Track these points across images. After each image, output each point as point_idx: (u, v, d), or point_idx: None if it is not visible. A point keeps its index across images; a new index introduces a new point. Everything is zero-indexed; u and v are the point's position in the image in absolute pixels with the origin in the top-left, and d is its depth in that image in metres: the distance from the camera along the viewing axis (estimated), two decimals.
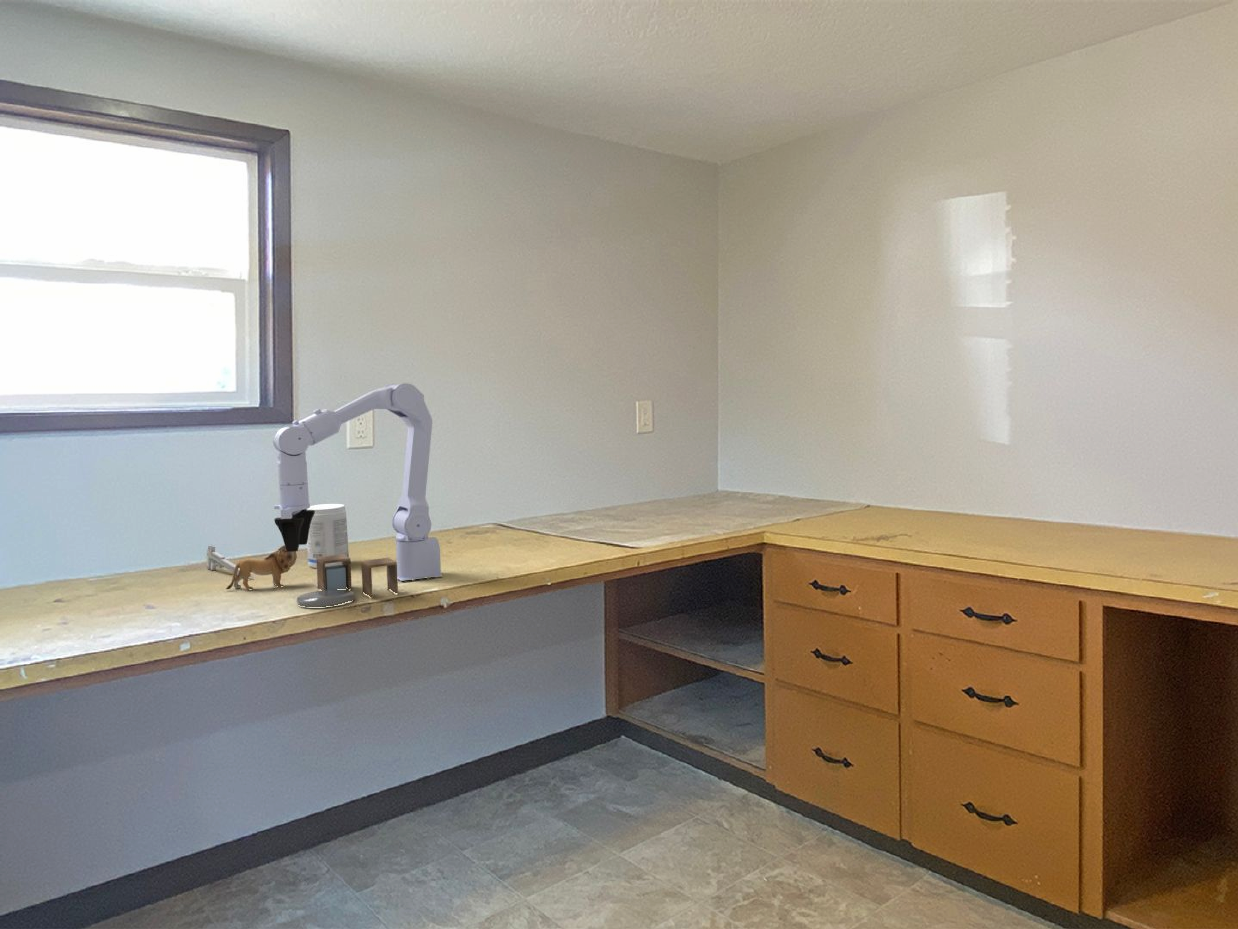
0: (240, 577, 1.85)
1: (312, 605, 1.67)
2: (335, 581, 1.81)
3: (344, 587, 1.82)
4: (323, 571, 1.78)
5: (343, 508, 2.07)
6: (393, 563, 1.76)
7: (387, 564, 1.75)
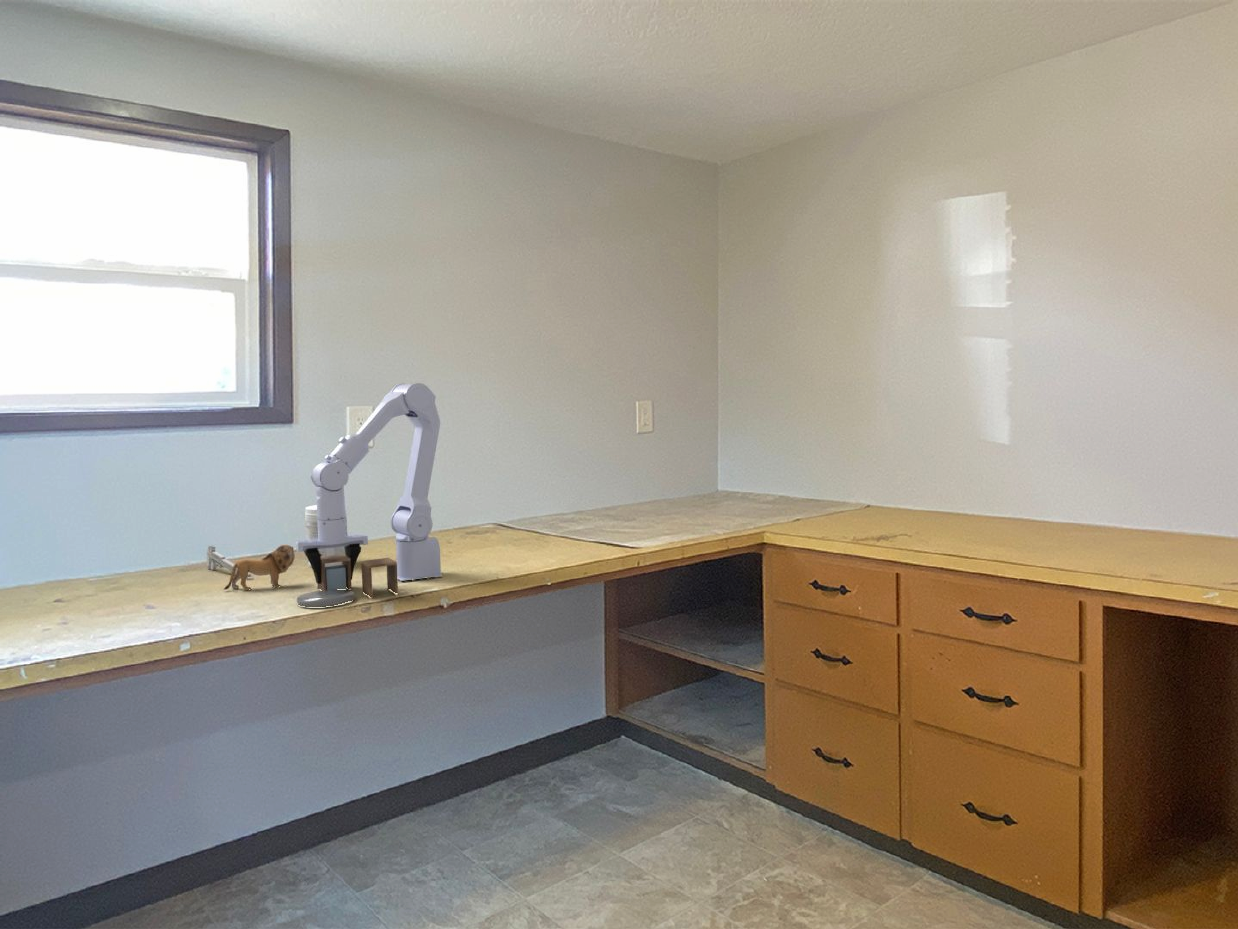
0: (238, 577, 1.85)
1: (312, 605, 1.67)
2: (335, 581, 1.81)
3: (344, 587, 1.82)
4: (323, 571, 1.78)
5: None
6: (393, 563, 1.76)
7: (387, 564, 1.75)
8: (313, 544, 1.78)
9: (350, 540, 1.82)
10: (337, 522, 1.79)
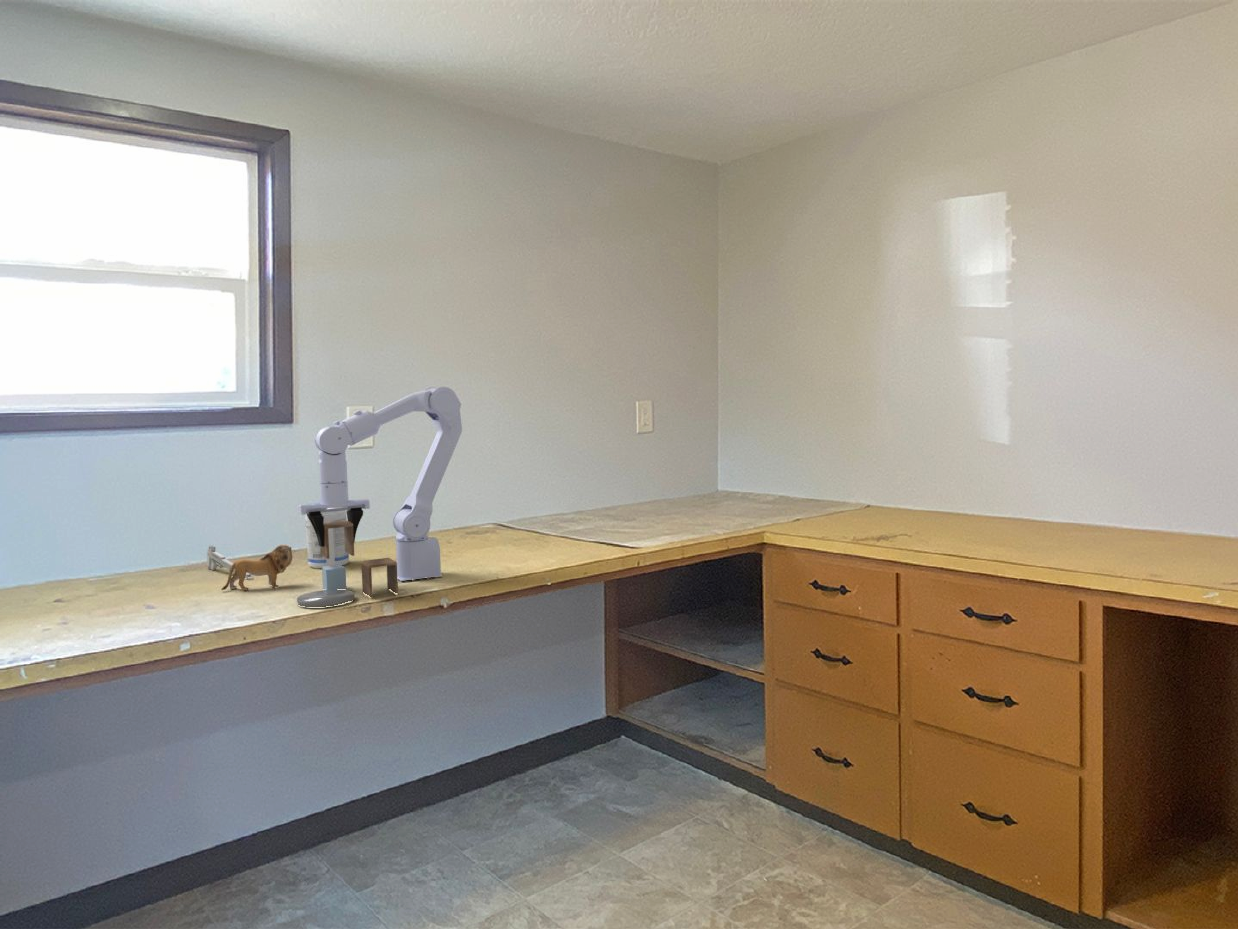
0: (236, 577, 1.85)
1: (312, 605, 1.67)
2: (335, 581, 1.81)
3: (344, 587, 1.82)
4: (326, 536, 1.81)
5: None
6: (393, 563, 1.76)
7: (387, 564, 1.75)
8: (316, 507, 1.81)
9: (352, 504, 1.84)
10: (339, 485, 1.82)
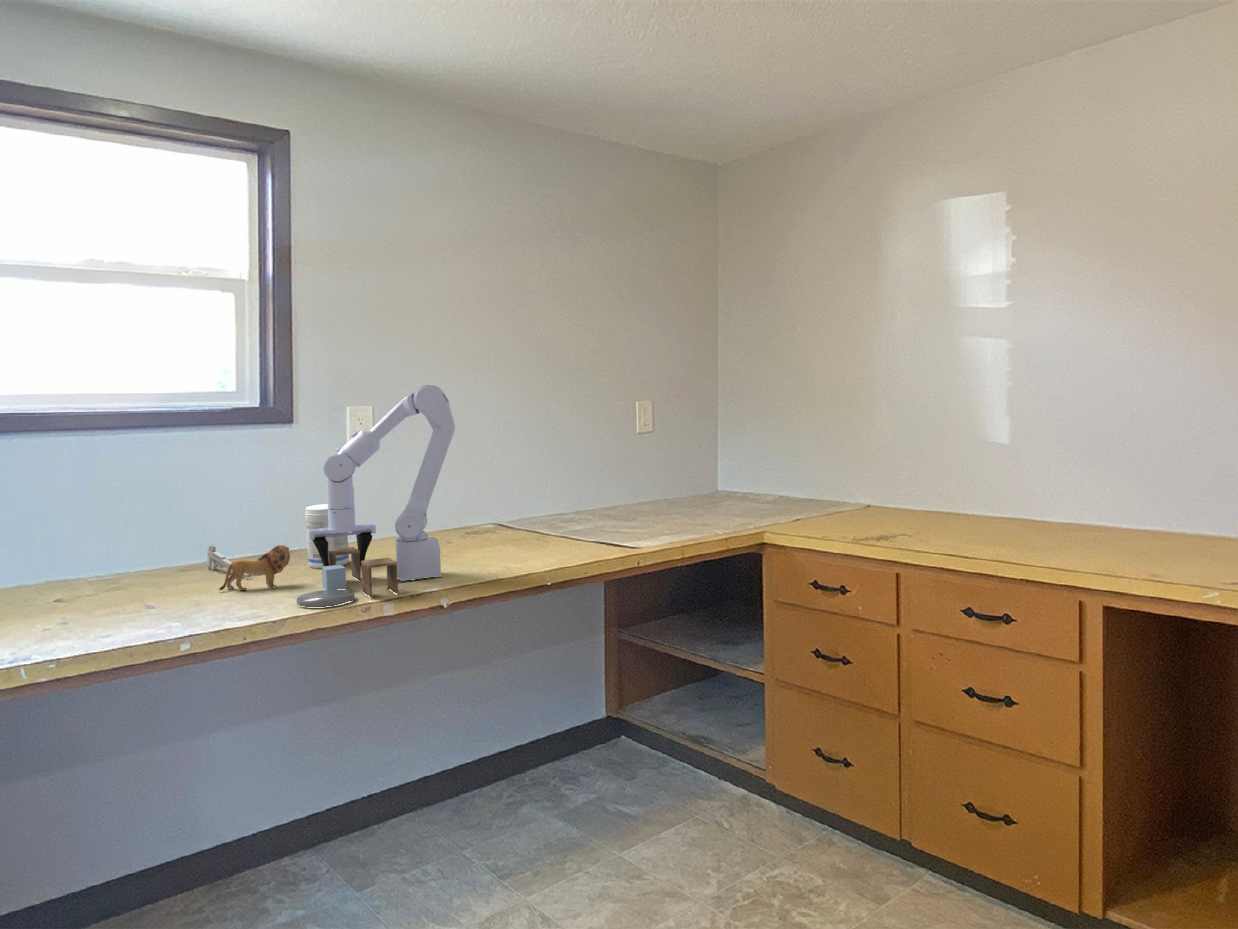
0: (233, 578, 1.84)
1: (312, 605, 1.67)
2: (335, 581, 1.81)
3: (344, 587, 1.82)
4: (334, 563, 1.87)
5: None
6: (393, 563, 1.76)
7: (387, 564, 1.75)
8: (324, 532, 1.87)
9: (359, 529, 1.90)
10: (347, 511, 1.88)
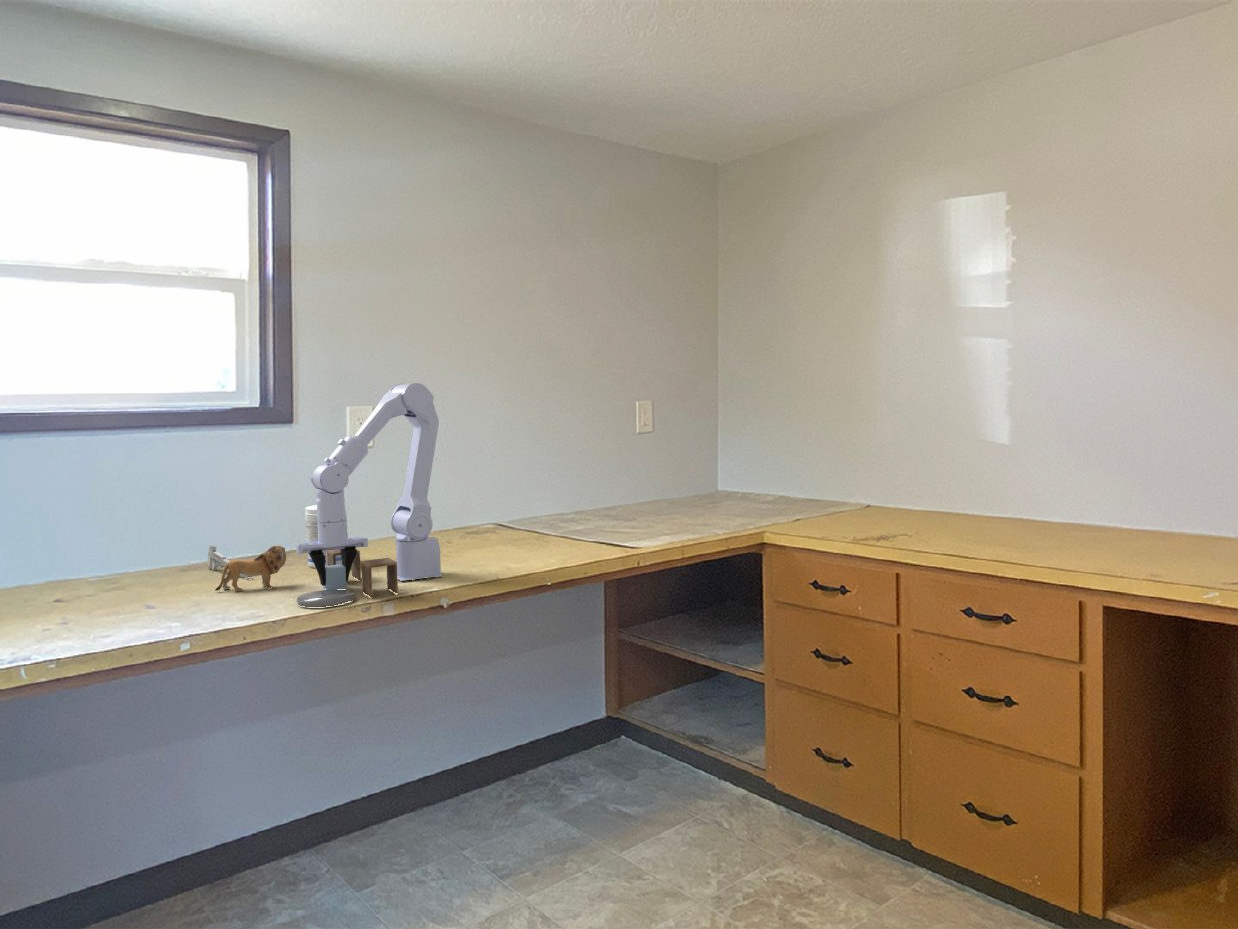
0: (229, 578, 1.84)
1: (312, 605, 1.67)
2: (335, 581, 1.81)
3: (344, 587, 1.82)
4: (334, 563, 1.87)
5: None
6: (393, 563, 1.76)
7: (387, 564, 1.75)
8: (313, 546, 1.78)
9: (350, 542, 1.82)
10: (337, 524, 1.79)
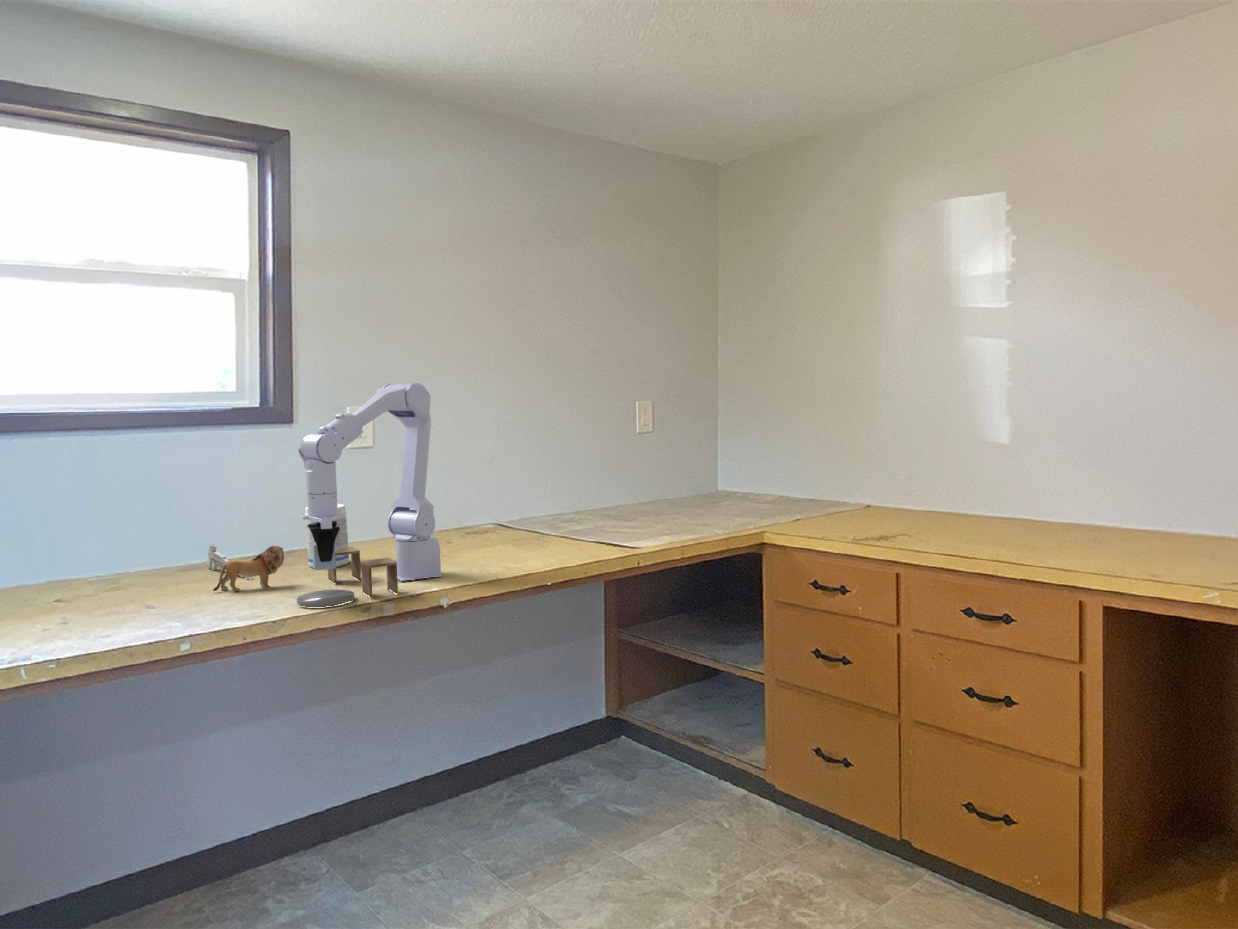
0: (227, 578, 1.84)
1: (312, 605, 1.67)
2: None
3: None
4: None
5: (343, 508, 2.07)
6: (393, 563, 1.76)
7: (387, 564, 1.75)
8: (333, 519, 1.69)
9: None
10: None
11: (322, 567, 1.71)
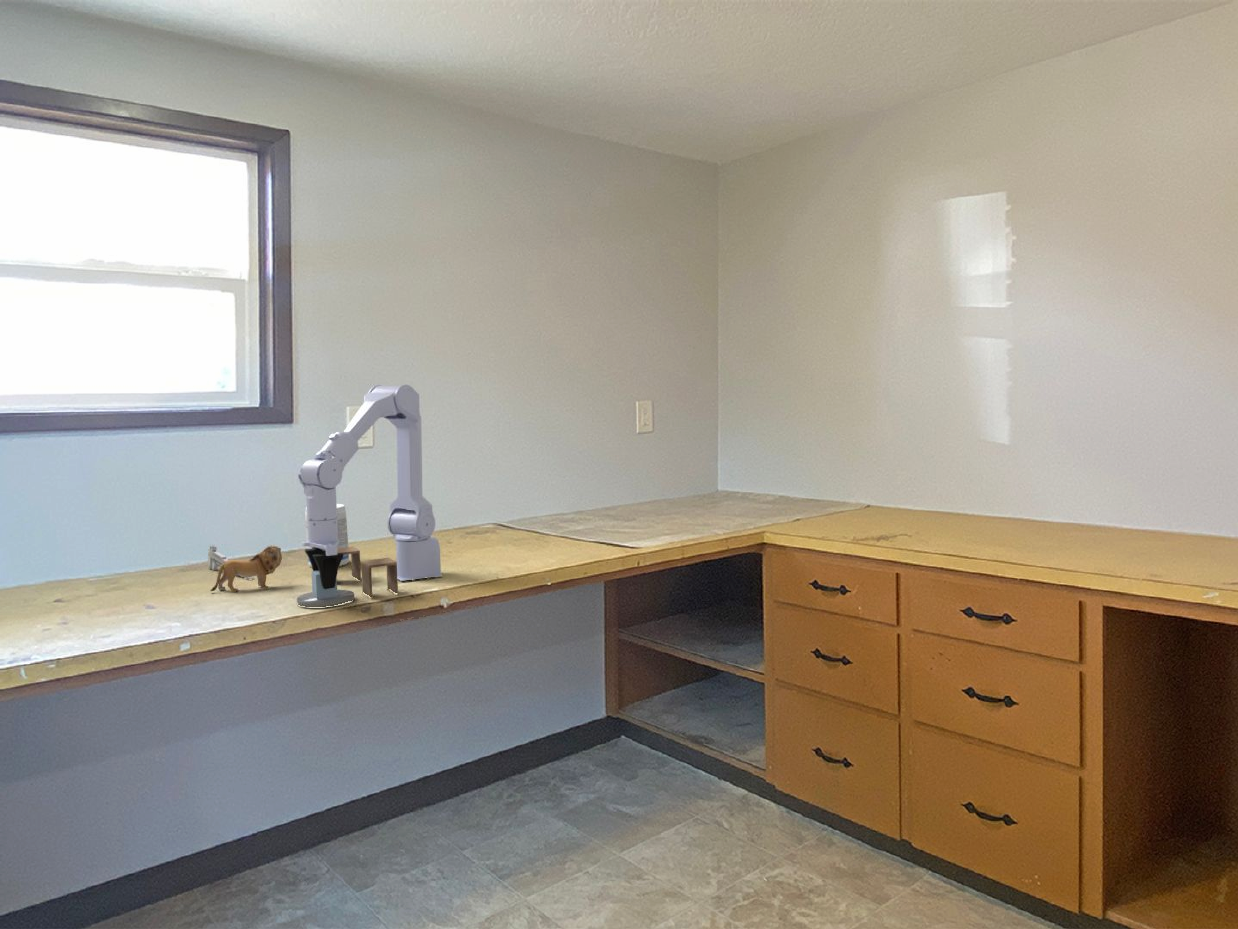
0: (224, 579, 1.84)
1: (312, 605, 1.67)
2: None
3: None
4: None
5: (343, 508, 2.07)
6: (393, 563, 1.76)
7: (387, 564, 1.75)
8: (337, 545, 1.68)
9: None
10: None
11: (324, 596, 1.70)
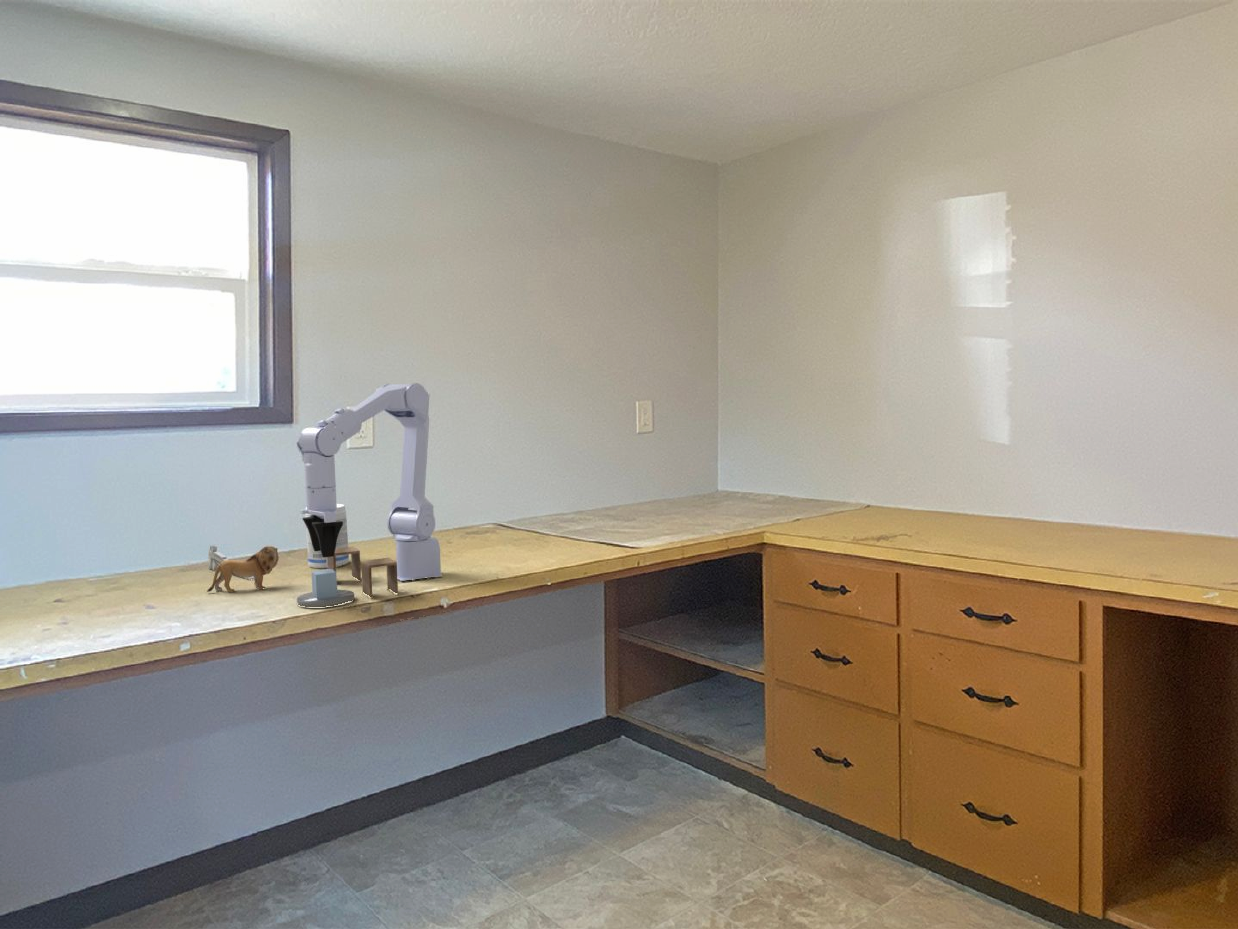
0: (221, 579, 1.83)
1: (312, 605, 1.67)
2: None
3: None
4: (334, 563, 1.87)
5: (343, 508, 2.07)
6: (393, 563, 1.76)
7: (387, 564, 1.75)
8: (335, 512, 1.68)
9: None
10: None
11: (324, 596, 1.70)
